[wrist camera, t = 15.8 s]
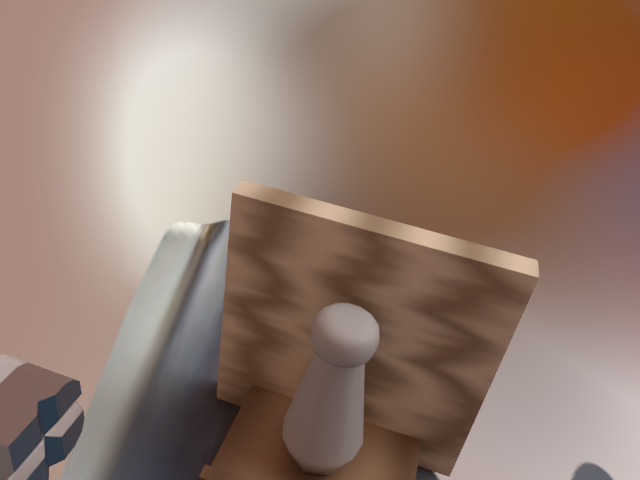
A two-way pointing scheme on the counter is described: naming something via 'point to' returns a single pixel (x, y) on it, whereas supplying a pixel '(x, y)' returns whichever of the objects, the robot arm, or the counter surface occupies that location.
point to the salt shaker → (332, 390)
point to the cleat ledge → (280, 467)
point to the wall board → (376, 298)
